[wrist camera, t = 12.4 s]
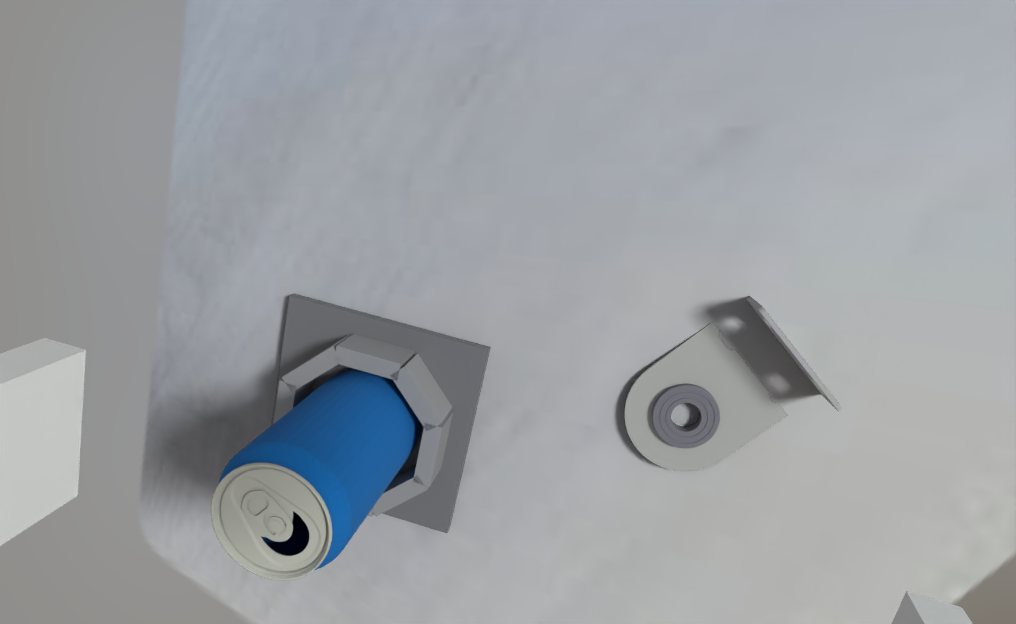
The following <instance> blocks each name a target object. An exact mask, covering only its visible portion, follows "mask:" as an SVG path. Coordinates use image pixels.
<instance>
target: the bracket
mask: <svg viewBox="0 0 1016 624" xmlns="http://www.w3.org/2000/svg"><path fill="white" fill-rule="evenodd" d="M746 300H747V301H748V302H749V304H750V305H751V306H752V307H753V309H754V310H755V312H756V313H757V314H758V315H759V317H760V318H761V319H762V320H763V322H764V323H765V324H766V325H767V327H768V328H769V329H770V331H771V332H772V333H773V334H774V336H775V337H776V338H777V339H778V341H779V342H780V343H781V344H782V346H783V347H784V348H785V350H786V351H787V352H788V353H789V355H790V356H791V357H792V358H793V360H794V361H795V362H796V363H797V365H798V366H799V367H800V369H801V370H802V371H803V372H804V374H805V375H806V376H807V377H808V379H809V380H810V381H811V382H812V384H813V385H814V386H815V387H816V388H817V390H818V391H819V392H820V394H821V395H822V396H823V397H824V398H825V399H826V400H827V401H828V402H829V403H830V404H831V405H832V406H833V407H834V408H835V409H836V410H837V411H839V410H841V409H842V407H841V405H840V404H839V403H838V402H837V400H836V399H835V398H834V396H833V395H832V394H831V393H830V391H829V390H828V389H827V388H826V386H825V385H824V384H823V383H822V381H821V380H820V379H819V377H818V376H817V375H816V374H815V372H814V371H813V370H812V369H811V367H810V366H809V365H808V363H807V362H806V361H805V360H804V358H803V357H802V356H801V355H800V353H799V352H798V351H797V350H796V348H795V347H794V346H793V344H792V343H791V342H790V341H789V339H788V338H787V337H786V336H785V334H784V333H783V332H782V331H781V329H780V328H779V327H778V325H777V324H776V323H775V322H774V320H773V319H772V318H771V317H770V315H769V314H768V313H767V311H766V310H765V309H764V308H763V307H762V306H761V305H760V304H759V303H758V302H756V301H755V300H754V299H753V298H752V297H750V296H749V297H747V298H746ZM719 332H720V330H719V329H718V327H717V326H716V325H715V324H714V323H713V322H712V323H710V324H709V325H708V326H706V327H705V328H703V329H702V330H700V331H699V332H698V333H696V334H695V335H693V336H692V337H690V338H689V339H688V340H686V341H685V342H683V343H682V344H681V345H679V346H678V347H676V348H675V349H673V350H672V351H671V352H669V353H668V354H666V355H665V356H664V357H662V358H661V359H660V360H658V361H657V362H656V363H654V364H653V365H651V366H650V367H649V368H647V369H646V370H645V371H644V372H643V373H642V374H641V375H640V376H639V377H638V378H637V379H636V380H635V382H634V383H633V385H632V387H631V389H630V391H629V393H628V396H627V399H626V403H625V424H626V428H627V432H628V434H629V437H630V439H631V441H632V442H633V444H634V446H635V447H636V448H637V449H638V451H639V452H640V453H641V454H642V455H643V456H644V457H646V458H647V459H648V460H650V461H651V462H653V463H655V464H657V465H658V466H661V467H663V468H666V469H670V470H674V471H696V470H701V469H705V468H708V467H710V466H713V465H715V464H717V463H718V462H720V461H722V460H723V459H725V458H726V457H728V456H729V455H731V454H732V453H733V452H735V451H736V450H738V449H739V448H741V447H742V446H744V445H745V444H747V443H748V442H750V441H751V440H752V439H754V438H755V437H757V436H758V435H760V434H761V433H763V432H764V431H766V430H767V429H769V428H770V427H771V426H773V425H774V424H776V423H777V422H779V421H780V420H782V419H783V418H785V417H786V416H788V415H787V413H786V412H785V411H784V410H783V408H782V407H781V406H780V405H779V403H776V402H773V401H772V400H771V399H770V392H769V391H768V390H767V388H766V387H765V386H764V385H763V383H762V382H761V381H760V380H759V378H758V377H757V376H756V375H755V374H754V372H753V371H752V370H751V369H750V367H749V366H748V365H747V364H746V362H745V361H744V360H743V359H742V357H741V356H740V355H739V354H738V352H737V351H736V350H730V349H728V348H727V347H726V345H725V344H724V343H723V342H722V340H721V339H720V337H719ZM682 403H690V404H693V405H695V406H696V407H697V408H698V409H699V410H700V416H699V419H698V420H697V422H696V423H694V424H693V425H691V426H687V427H682V426H678V425H676V424H675V423H674V422H673V421H672V420H671V413H672V411H673V409H674V408H675V407H676V406H678V405H679V404H682Z"/></svg>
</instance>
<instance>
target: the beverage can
mask: <svg viewBox="0 0 1016 624" xmlns="http://www.w3.org/2000/svg"><path fill="white" fill-rule="evenodd" d="M418 432H419V422H418V417H417V416H416V414H415V413H414V411H413V410H412V408H411V407H410V405H409V404H408V402H407V401H406V399H405V398H404V396H403V395H402V393H401V392H400V390H399V389H398V387H397V385H396V384H395V382H394V381H393V380H392V379H389V378H386V377H382V376H379V375H375V374H371V373H368V372H364V371H361V370H357V369H352V370H347V371H343V372H341V373H338V374H336V375H334V376H333V377H331V378H330V379H329V380H327V381H326V382H325V383H324V384H322V385H321V386H320V387H319V388H317V389H316V390H315V391H314V392H313V393H311V394H310V395H309V396H308V397H306V398H305V399H304V400H303V401H301V402H300V403H299V404H298V405H297V406H295V407H294V408H293V409H292V410H290V411H289V412H288V413H287V414H285V415H284V416H283V417H282V418H281V419H279V420H278V421H277V422H276V423H274V424H273V425H272V426H271V427H269V428H268V429H267V430H266V431H265V432H263V433H262V434H261V435H260V436H258V437H257V438H256V439H255V440H254V441H252V442H251V443H250V444H249V445H247V446H246V447H245V448H244V449H242V450H241V451H240V452H239V453H238V454H236V455H235V456H234V457H233V458H232V459H231V460H230V462H229V463H228V464H227V466H226V467H225V469H224V471H223V473H222V475H221V478H220V481H219V484H218V486H217V488H216V490H215V492H214V494H213V497H212V502H211V520H212V525H213V529H214V531H215V534H216V536H217V538H218V540H219V542H220V544H221V545H222V547H223V548H224V550H225V551H226V552H227V553H228V555H229V556H230V557H231V558H232V559H233V560H234V561H235V562H237V563H238V564H239V565H240V566H242V567H243V568H245V569H246V570H248V571H249V572H251V573H253V574H255V575H258V576H261V577H263V578H267V579H271V580H294V579H298V578H301V577H303V576H306V575H308V574H309V573H311V572H312V571H314V570H316V569H318V568H321V567H323V566H325V565H326V564H328V563H330V562H331V561H332V560H334V559H335V558H336V557H337V556H338V555H339V554H340V553H341V551H342V550H343V549H344V547H345V546H346V545H347V543H348V542H349V540H350V539H351V538H352V536H353V535H354V533H355V532H356V531H357V529H358V528H359V526H360V525H361V524H362V522H363V521H364V519H365V518H366V516H367V515H368V514H369V512H370V511H371V509H372V508H373V507H374V505H375V504H376V502H377V501H378V500H379V498H380V497H381V495H382V494H383V493H384V491H385V490H386V488H387V487H388V485H389V484H390V483H391V481H392V480H393V478H394V477H395V476H396V474H397V473H398V471H399V470H400V469H401V467H402V466H403V464H404V463H405V462H406V460H407V459H408V457H409V456H410V454H411V453H412V451H413V450H414V447H415V445H416V442H417V438H418Z"/></svg>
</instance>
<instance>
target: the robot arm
mask: <svg viewBox="0 0 1016 624" xmlns="http://www.w3.org/2000/svg"><path fill="white" fill-rule="evenodd" d="M85 355H86V350H84V349H81V348H77V347H74V346H71V345H67V344H63V343H60V342H57V341H53V340H50V339H47V338H43V339H40V340H37V341H34V342H31V343H29V344H26V345H23V346H20V347H17V348H15V349H11V350H9V351H6V352H3V353H1V354H0V546H1V545H2V544H4V543H5V542H7V541H9V540H10V539H12V538H13V537H15V536H16V535H18V534H19V533H21V532H22V531H24V530H25V529H27V528H28V527H30V526H32V525H33V524H35V523H36V522H38V521H39V520H41V519H42V518H44V517H45V516H47V515H48V514H50V513H52V512H53V511H55V510H56V509H58V508H59V507H61V506H62V505H64V504H65V503H67V502H68V501H70V500H71V499H73V498H75V497H76V496H78V481H79V480H78V479H79V464H80V446H81V427H82V410H83V392H84V373H85ZM892 624H972V622H971V621H970V619H969V618H968V616H967V615H966V613H965V612H964V610H963V609H962V608H961V607H958V606H955V605H951V604H948V603H945V602H941V601H938V600H934V599H931V598H928V597H924V596H921V595H917V594H914V593H911V592H907V591H906V593H905V595H904V598H903V600H902V602H901V604H900V607H899V609H898V611H897V613H896V616H895V618H894V620H893V622H892Z"/></svg>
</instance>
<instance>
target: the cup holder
mask: <svg viewBox="0 0 1016 624" xmlns="http://www.w3.org/2000/svg"><path fill="white" fill-rule="evenodd" d="M489 352H490V347H488V346H484V345H480V344H477V343H473V342H469V341H466V340H462V339H458V338H455V337H451V336H447V335H444V334H440V333H436V332H433V331H429V330H425V329H422V328H418V327H414V326H411V325H407V324H403V323H400V322H396V321H392V320H389V319H385V318H381V317H378V316H374V315H370V314H367V313H363V312H359V311H356V310H352V309H348V308H345V307H341V306H337V305H334V304H330V303H326V302H323V301H319V300H315V299H312V298H308V297H304V296H301V295H297V294H292V295H290V296H289V302H288V310H287V317H286V324H285V331H284V339H283V346H282V353H281V360H280V368H279V375H278V382H277V389H276V397H275V404H274V411H273V418H272V425H273V424H274V423H276V422H277V421H278V420H279V419H281V418H282V417H283V416H284V415H285V414H287V413H288V412H289V411H290V410H292V409H293V408H294V407H295V406H297V405H298V404H299V403H300V402H301V401H303V400H304V399H305V398H306V397H308V396H309V395H310V394H311V393H313V392H314V391H315V390H316V389H317V388H319V387H320V386H321V385H322V384H324V383H325V382H326V381H327V380H329V379H330V378H331V377H333V376H334V375H336V374H338V373H341V372H343V371H347V370H352V369H357V370H361V371H364V372H368V373H371V374H375V375H379V376H382V377H386V378H389V379H392V380H393V381H394V382H395V384H396V385H397V387H398V389H399V390H400V392H401V393H402V395H403V396H404V398H405V399H406V401H407V402H408V404H409V405H410V407H411V408H412V410H413V411H414V413H415V414H416V416H417V417H418V422H419V432H418V438H417V442H416V445H415V447H414V450H413V451H412V453H411V454H410V456H409V457H408V459H407V460H406V462H405V463H404V464H403V466H402V467H401V469H400V470H399V471H398V473H397V474H396V476H395V477H394V478H393V480H392V481H391V483H390V484H389V485H388V487H387V488H386V490H385V491H384V493H383V494H382V495H381V497H380V498H379V500H378V501H377V502H376V504H375V505H374V507H373V508H372V509H371V511H370V512H369V514H368V515H367V516H371V517H372V516H373V514H374V515H375V516H378V515H380V514H382V513H383V514H386V515H389V516H393V517H396V518H399V519H402V520H406V521H409V522H412V523H416V524H419V525H422V526H425V527H429V528H432V529H435V530H438V531H442V532H445V533H448V531H449V529H450V525H451V520H452V516H453V511H454V507H455V503H456V498H457V494H458V489H459V485H460V480H461V476H462V472H463V467H464V463H465V458H466V454H467V449H468V445H469V440H470V436H471V432H472V427H473V423H474V418H475V414H476V409H477V405H478V401H479V396H480V392H481V387H482V383H483V378H484V374H485V369H486V365H487V361H488V356H489Z"/></svg>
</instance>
